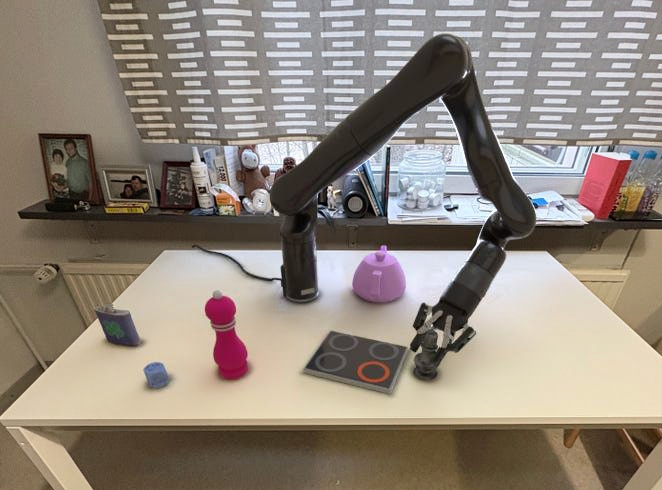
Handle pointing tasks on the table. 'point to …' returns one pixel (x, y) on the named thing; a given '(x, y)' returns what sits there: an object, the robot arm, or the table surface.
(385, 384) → the hob
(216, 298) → the pepper mill
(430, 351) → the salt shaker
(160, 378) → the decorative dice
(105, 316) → the flask
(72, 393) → the table surface
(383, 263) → the teapot
